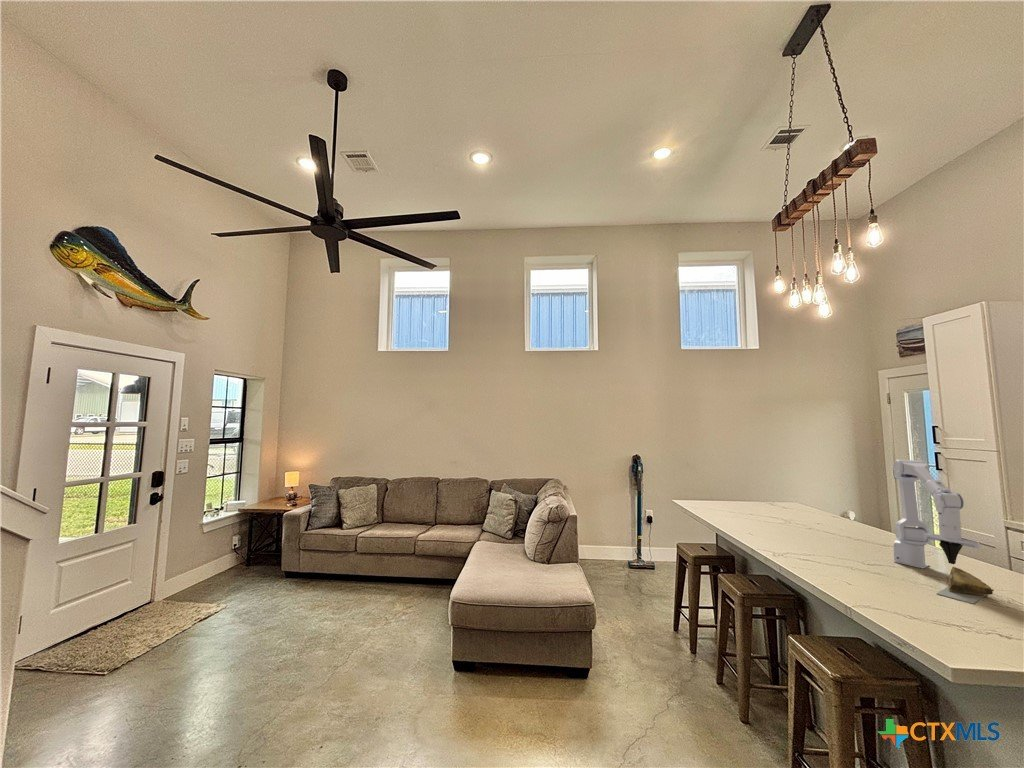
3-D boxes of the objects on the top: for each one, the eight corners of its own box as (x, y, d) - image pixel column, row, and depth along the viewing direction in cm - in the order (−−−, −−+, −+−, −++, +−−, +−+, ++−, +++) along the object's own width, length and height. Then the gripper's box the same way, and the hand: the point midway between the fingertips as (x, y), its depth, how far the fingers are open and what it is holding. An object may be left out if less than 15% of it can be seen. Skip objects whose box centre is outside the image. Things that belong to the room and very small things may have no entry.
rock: (963, 562, 156) (976, 568, 147) (982, 585, 153) (996, 593, 144) (930, 573, 160) (941, 580, 151) (948, 596, 157) (960, 605, 148)
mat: (936, 594, 148) (936, 593, 148) (958, 581, 161) (958, 580, 161) (973, 604, 141) (973, 603, 141) (993, 590, 153) (993, 589, 153)
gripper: (919, 522, 161) (921, 559, 160) (974, 531, 149) (977, 571, 148) (926, 520, 165) (928, 556, 164) (980, 529, 152) (983, 568, 151)
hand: (952, 563), depth 156 cm, fingers closed
